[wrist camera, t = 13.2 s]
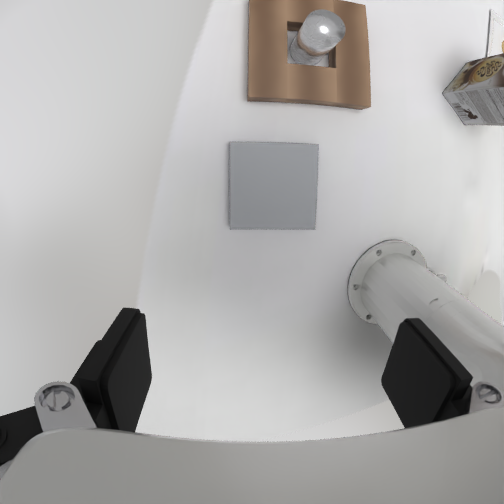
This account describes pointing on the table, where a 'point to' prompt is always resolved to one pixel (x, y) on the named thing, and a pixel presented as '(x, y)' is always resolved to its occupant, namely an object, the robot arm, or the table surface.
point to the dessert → (500, 21)
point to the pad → (273, 185)
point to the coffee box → (479, 92)
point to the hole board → (307, 76)
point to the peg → (317, 37)
